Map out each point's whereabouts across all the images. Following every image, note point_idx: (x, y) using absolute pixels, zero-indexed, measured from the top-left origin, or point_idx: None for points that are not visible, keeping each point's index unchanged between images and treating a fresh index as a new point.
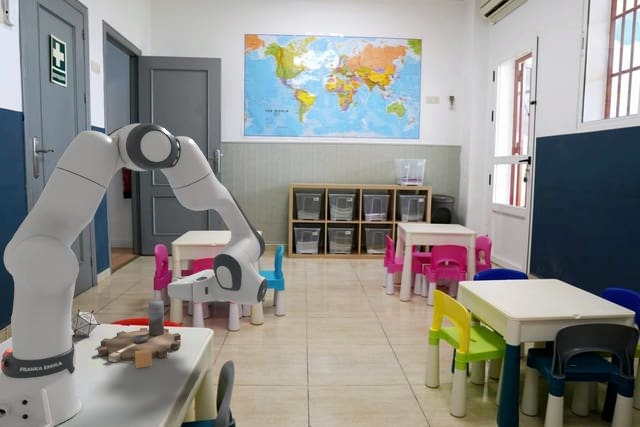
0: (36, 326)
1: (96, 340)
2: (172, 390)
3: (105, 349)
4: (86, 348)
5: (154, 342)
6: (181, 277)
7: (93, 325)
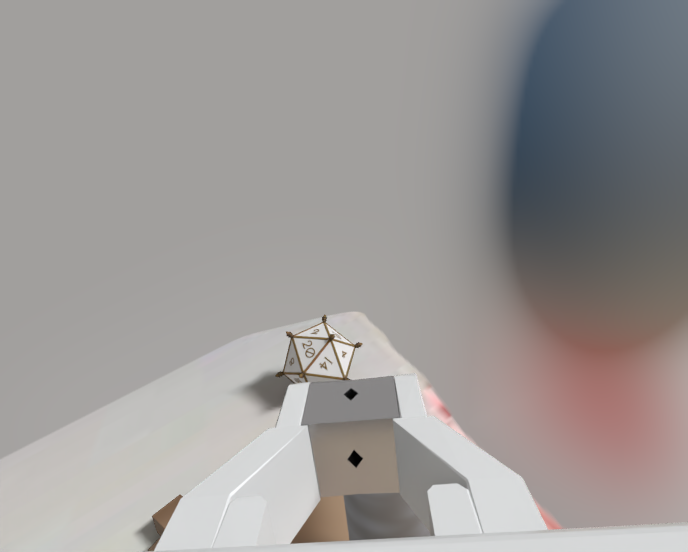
0: None
1: None
2: None
3: (163, 528)
4: (235, 452)
5: None
6: (392, 423)
7: (323, 379)
